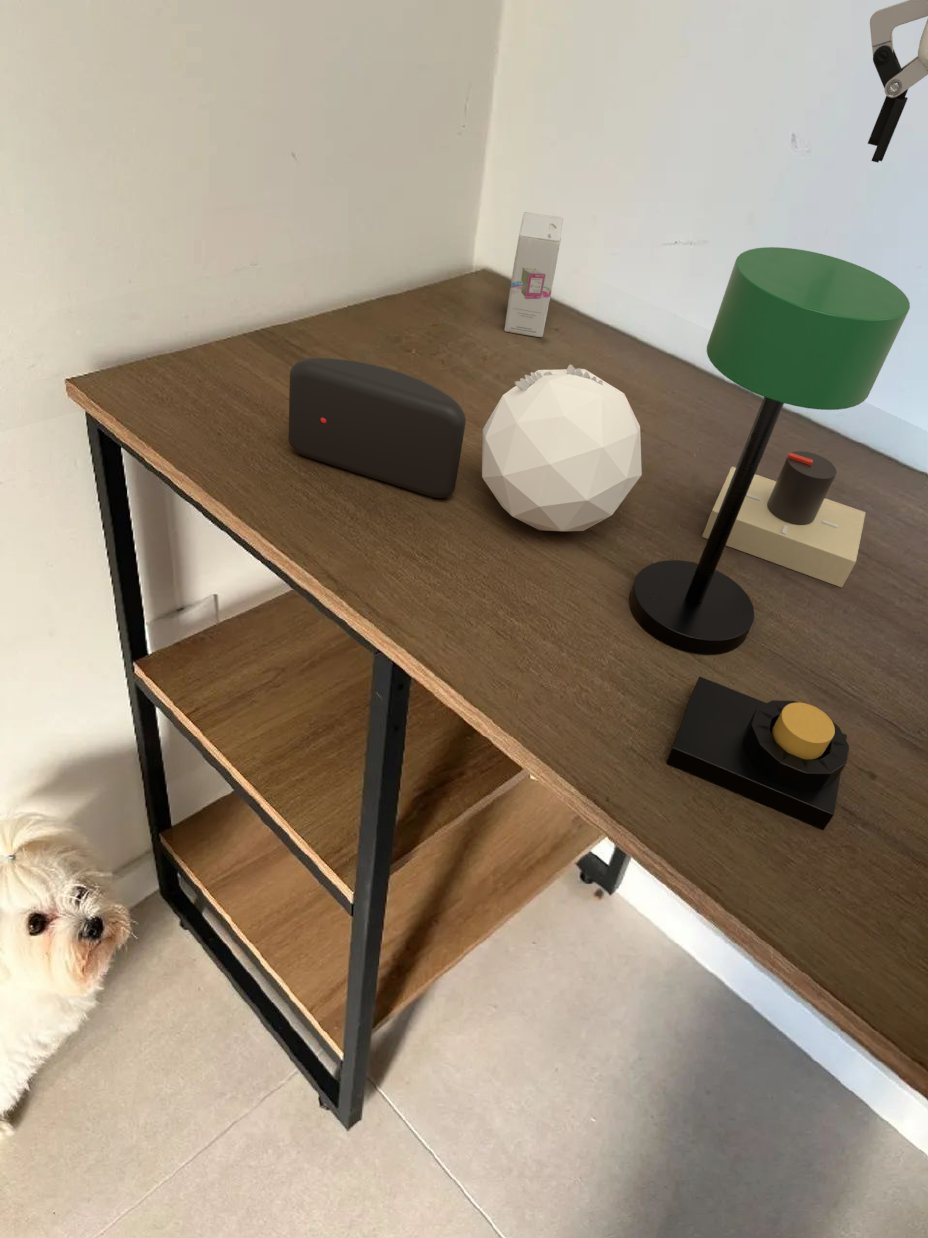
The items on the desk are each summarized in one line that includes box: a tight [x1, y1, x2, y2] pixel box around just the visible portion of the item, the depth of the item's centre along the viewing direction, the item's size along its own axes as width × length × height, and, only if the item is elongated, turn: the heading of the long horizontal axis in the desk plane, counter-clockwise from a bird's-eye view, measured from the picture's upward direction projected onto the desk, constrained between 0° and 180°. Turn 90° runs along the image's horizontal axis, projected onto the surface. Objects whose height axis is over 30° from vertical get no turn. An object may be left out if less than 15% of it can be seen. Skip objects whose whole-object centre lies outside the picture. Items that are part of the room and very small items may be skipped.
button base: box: [666, 675, 850, 831], centre depth 65 cm, size 11×8×4 cm
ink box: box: [503, 212, 564, 338], centre depth 112 cm, size 9×5×12 cm, turn 174°
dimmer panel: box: [701, 466, 866, 588], centre depth 86 cm, size 13×9×3 cm
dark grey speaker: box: [287, 357, 467, 499], centre depth 83 cm, size 16×5×9 cm, turn 71°
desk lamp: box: [628, 246, 911, 656], centre depth 68 cm, size 11×11×28 cm
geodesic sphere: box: [481, 364, 643, 532], centre depth 80 cm, size 15×14×14 cm
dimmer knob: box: [767, 450, 837, 525], centre depth 84 cm, size 4×4×5 cm
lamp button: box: [773, 702, 835, 759], centre depth 63 cm, size 4×4×2 cm
